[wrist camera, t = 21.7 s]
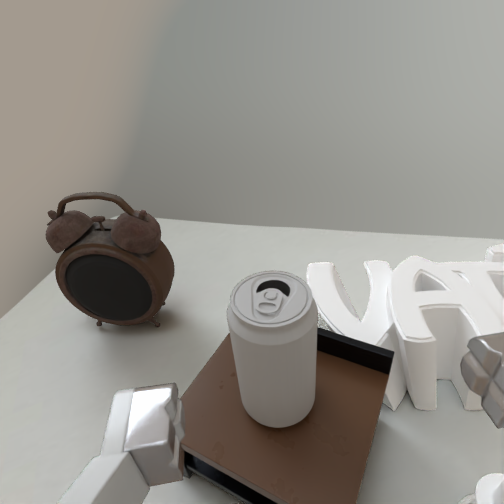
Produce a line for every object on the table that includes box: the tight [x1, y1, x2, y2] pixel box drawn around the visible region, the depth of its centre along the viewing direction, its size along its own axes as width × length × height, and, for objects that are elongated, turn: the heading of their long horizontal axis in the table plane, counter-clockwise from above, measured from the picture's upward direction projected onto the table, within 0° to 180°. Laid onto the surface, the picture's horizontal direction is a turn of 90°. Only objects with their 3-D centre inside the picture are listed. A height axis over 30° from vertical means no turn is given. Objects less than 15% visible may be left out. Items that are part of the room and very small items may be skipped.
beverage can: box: [227, 271, 318, 428], centre depth 28 cm, size 6×6×12 cm
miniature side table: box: [180, 327, 395, 504], centre depth 33 cm, size 14×16×10 cm
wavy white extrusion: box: [307, 243, 504, 411], centre depth 40 cm, size 35×16×11 cm, turn 84°
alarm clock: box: [46, 192, 174, 327], centre depth 46 cm, size 15×7×20 cm, turn 85°
